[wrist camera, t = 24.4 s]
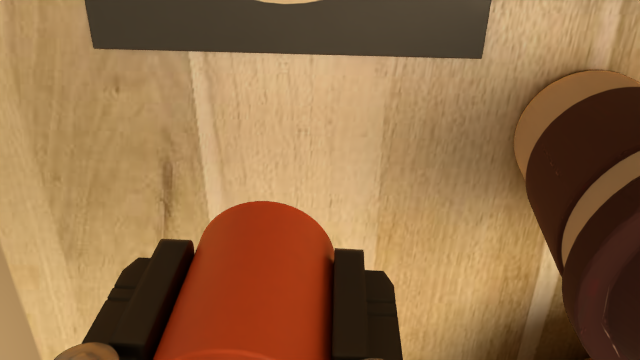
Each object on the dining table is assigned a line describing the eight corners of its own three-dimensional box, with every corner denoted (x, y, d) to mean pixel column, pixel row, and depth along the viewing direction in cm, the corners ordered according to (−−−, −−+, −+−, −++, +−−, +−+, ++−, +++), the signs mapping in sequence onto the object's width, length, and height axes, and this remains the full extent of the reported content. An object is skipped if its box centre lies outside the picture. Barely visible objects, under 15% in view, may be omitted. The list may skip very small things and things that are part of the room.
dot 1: (204, 306, 15) (148, 476, 11) (194, 196, 14) (124, 345, 9) (331, 313, 15) (327, 487, 11) (338, 203, 14) (336, 357, 9)
